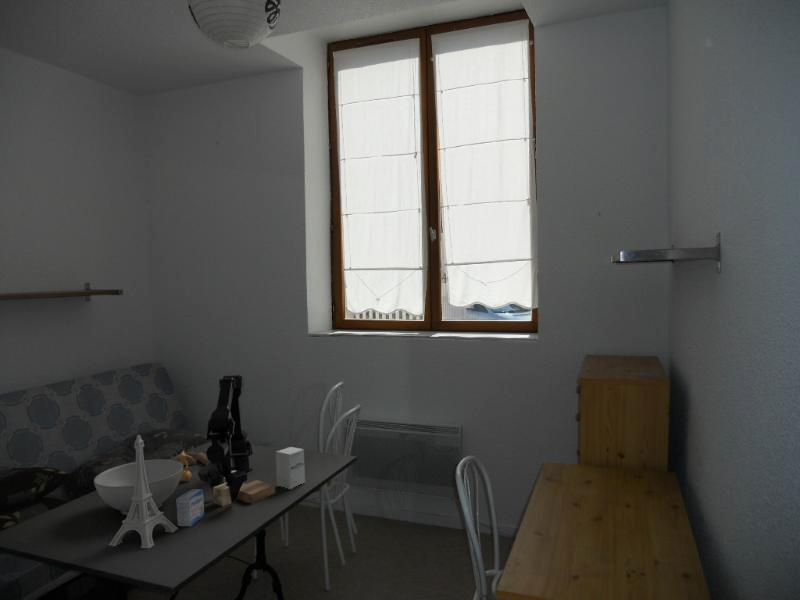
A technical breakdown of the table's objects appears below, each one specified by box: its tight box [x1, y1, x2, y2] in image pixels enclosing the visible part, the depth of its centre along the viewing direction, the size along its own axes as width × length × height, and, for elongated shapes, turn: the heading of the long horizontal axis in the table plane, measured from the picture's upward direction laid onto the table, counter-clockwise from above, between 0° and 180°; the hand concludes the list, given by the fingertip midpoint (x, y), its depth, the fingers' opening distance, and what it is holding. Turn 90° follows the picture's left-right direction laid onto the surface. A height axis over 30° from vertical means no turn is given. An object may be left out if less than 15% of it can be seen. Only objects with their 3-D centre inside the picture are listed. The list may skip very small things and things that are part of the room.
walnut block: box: [236, 479, 276, 505], centre depth 194 cm, size 10×10×4 cm
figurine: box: [173, 450, 196, 483], centre depth 211 cm, size 8×6×12 cm
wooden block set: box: [178, 451, 210, 466], centre depth 231 cm, size 17×6×18 cm
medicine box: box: [175, 488, 205, 527], centre depth 175 cm, size 8×4×9 cm, turn 168°
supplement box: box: [275, 446, 306, 490], centre depth 203 cm, size 7×7×13 cm
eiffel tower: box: [108, 434, 179, 549], centre depth 165 cm, size 13×13×30 cm
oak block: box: [212, 482, 237, 507], centre depth 190 cm, size 5×5×6 cm
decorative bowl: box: [93, 458, 184, 516], centre depth 187 cm, size 27×27×12 cm
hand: (224, 499), depth 190 cm, fingers open, 9 cm apart
